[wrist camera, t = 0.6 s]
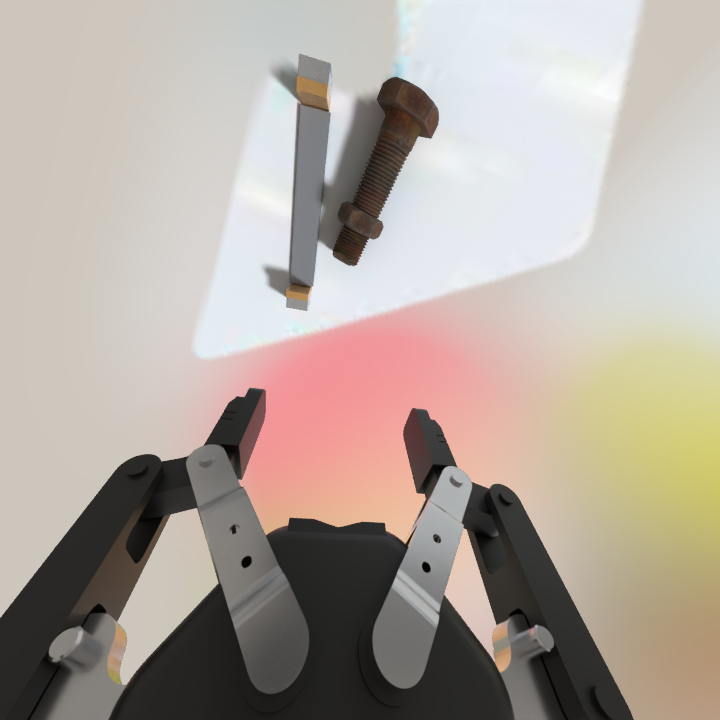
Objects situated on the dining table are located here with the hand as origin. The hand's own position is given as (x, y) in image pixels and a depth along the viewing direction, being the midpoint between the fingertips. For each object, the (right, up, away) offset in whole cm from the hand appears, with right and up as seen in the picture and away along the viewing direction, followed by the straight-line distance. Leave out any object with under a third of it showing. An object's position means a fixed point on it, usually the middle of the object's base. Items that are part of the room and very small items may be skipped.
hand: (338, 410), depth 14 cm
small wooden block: (-7, +11, +19) cm, 23 cm away
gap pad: (-5, +19, +14) cm, 25 cm away
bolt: (+2, +21, +14) cm, 26 cm away
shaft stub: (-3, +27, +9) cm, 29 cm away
